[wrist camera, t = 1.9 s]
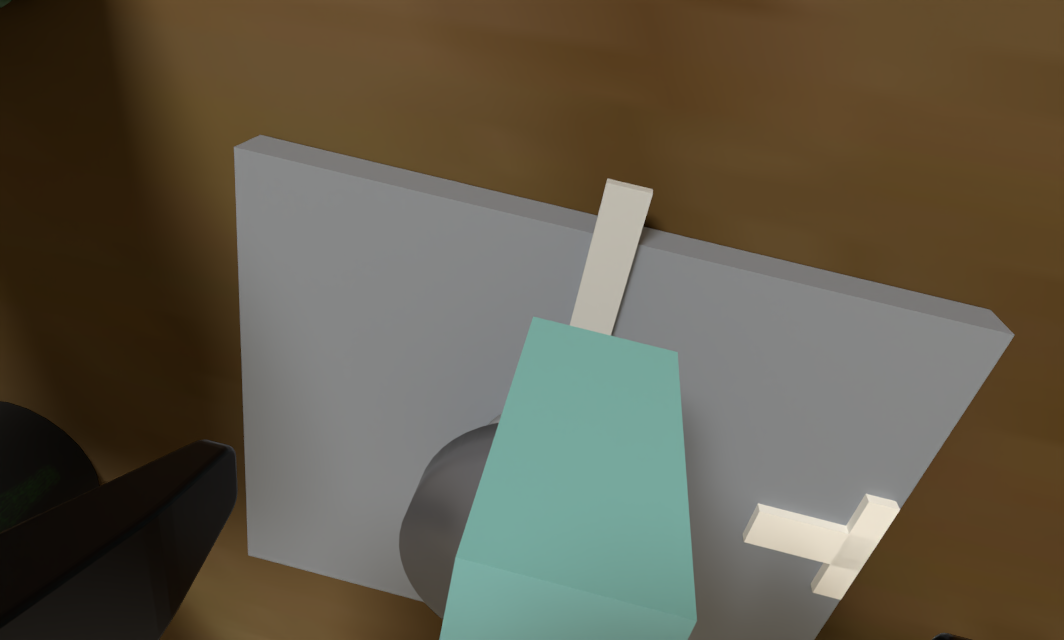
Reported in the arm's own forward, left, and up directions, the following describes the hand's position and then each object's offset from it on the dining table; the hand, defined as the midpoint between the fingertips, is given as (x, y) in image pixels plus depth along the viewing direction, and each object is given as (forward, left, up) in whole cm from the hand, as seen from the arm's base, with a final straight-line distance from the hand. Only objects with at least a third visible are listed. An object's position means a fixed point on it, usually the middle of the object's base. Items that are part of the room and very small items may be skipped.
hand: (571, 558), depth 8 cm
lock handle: (0, +4, -6) cm, 7 cm away
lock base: (0, +6, -9) cm, 11 cm away
